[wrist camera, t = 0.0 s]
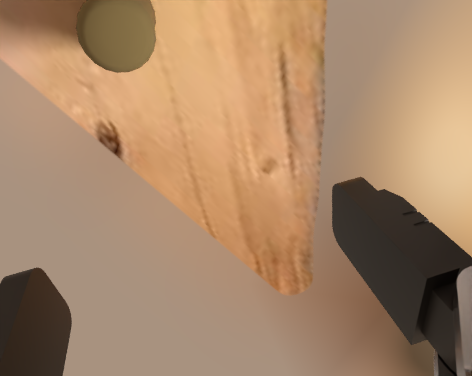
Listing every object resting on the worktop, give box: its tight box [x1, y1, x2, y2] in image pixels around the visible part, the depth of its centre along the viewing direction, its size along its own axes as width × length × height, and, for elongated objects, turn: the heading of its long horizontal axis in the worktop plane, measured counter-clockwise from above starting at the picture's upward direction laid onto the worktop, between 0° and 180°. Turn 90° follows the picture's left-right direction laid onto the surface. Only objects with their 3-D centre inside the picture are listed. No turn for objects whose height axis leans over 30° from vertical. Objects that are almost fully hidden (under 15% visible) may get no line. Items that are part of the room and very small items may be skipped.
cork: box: [76, 0, 156, 73], centre depth 27 cm, size 6×6×11 cm
